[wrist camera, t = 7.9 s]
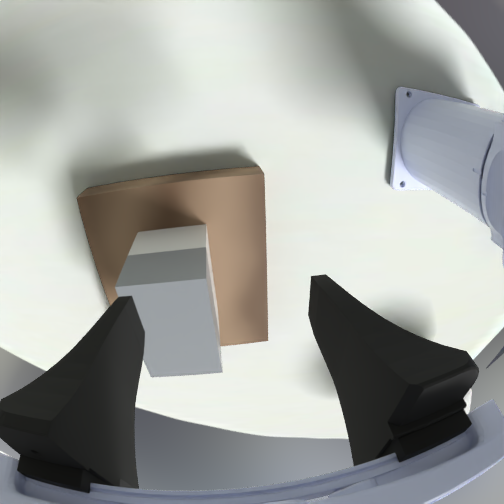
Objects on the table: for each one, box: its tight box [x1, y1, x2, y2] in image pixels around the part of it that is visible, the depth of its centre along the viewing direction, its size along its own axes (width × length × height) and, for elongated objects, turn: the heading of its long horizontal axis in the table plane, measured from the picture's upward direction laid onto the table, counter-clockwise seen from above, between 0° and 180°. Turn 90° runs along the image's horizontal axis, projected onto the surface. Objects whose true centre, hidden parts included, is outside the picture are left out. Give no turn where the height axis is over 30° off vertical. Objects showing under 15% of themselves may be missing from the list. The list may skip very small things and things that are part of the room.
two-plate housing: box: [115, 224, 222, 377], centre depth 18 cm, size 4×7×6 cm, turn 3°
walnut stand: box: [77, 166, 268, 346], centre depth 22 cm, size 12×14×2 cm
